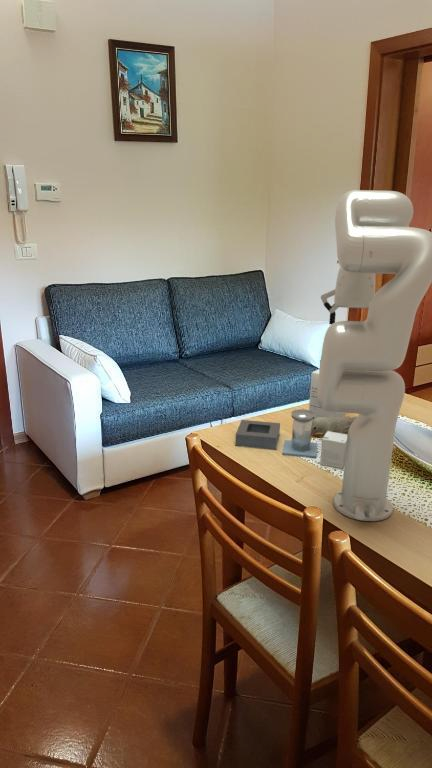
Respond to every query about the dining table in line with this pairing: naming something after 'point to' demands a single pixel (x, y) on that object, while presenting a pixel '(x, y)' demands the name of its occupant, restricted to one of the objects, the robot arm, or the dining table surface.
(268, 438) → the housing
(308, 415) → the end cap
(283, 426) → the dining table surface
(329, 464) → the skincare box
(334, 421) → the decorative bird
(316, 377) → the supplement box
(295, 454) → the mat
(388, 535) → the dining table surface
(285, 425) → the dining table surface
